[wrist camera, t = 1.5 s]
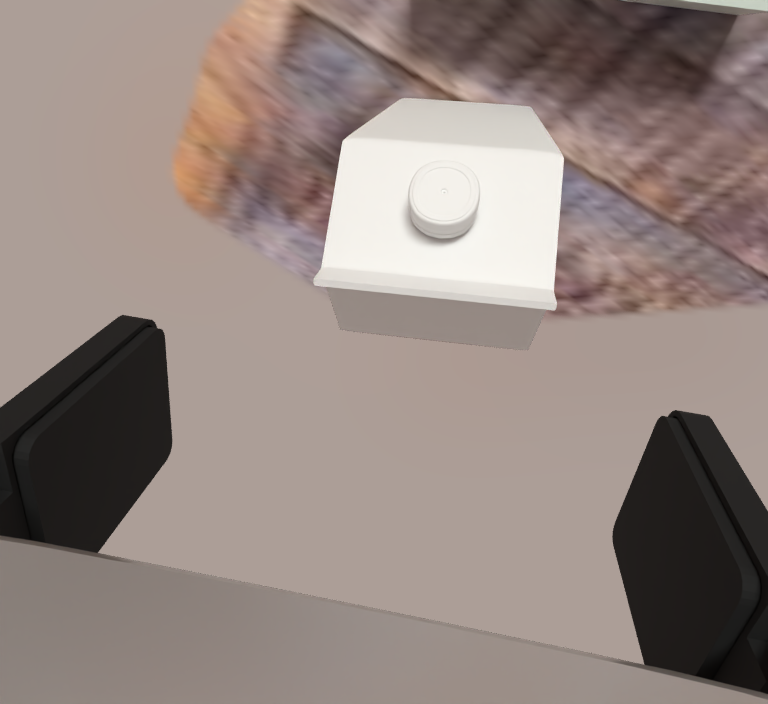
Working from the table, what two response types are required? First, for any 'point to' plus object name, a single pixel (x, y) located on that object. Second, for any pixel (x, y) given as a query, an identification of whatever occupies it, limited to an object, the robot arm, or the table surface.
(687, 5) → the tray
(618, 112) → the table surface
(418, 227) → the milk carton
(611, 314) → the table surface
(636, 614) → the robot arm
